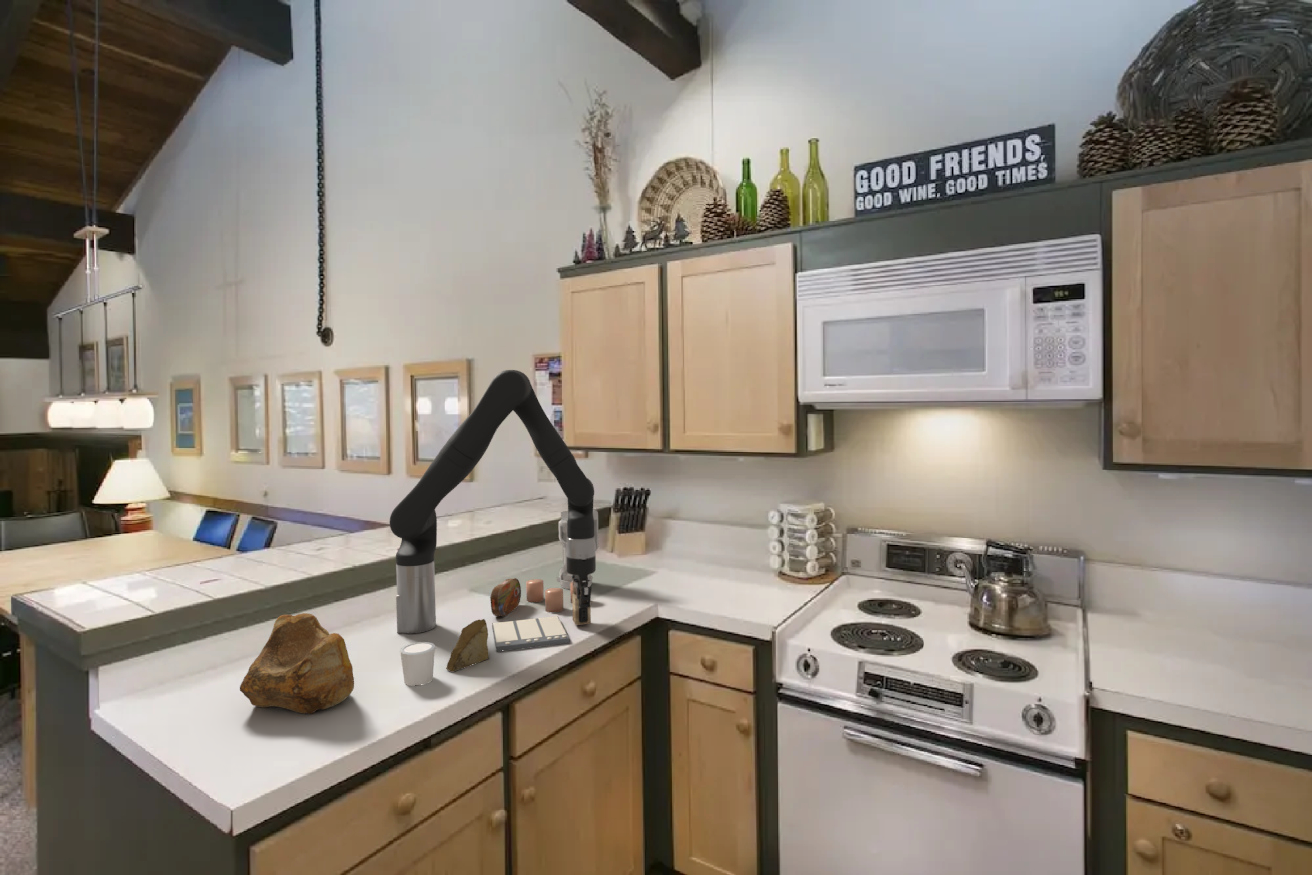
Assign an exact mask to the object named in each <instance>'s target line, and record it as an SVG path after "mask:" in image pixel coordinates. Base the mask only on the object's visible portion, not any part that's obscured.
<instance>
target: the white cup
mask: <svg viewBox="0 0 1312 875" xmlns="http://www.w3.org/2000/svg"><path fill="white" fill-rule="evenodd" d="M399 652H400V658H401V667H402V673H403V680H404V684H405V685H406V684H407V685H406V686H408V685H412V686H411V687H416V686H415V685H421V684H425V685H427V684H429V683H431V682H432V681H433V679H434V670H435V669H434V668H435V667H434V666H435V652H436V645H435V644H434V643H433V642H428V641H427V642H426V641H421V642H414V643H409V644H407V645H404V646H403V647H401V648H400V651H399ZM431 680H432V681H431ZM430 681H431V682H430ZM421 686H422V685H421Z"/></svg>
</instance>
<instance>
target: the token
mask: <svg viewBox="0 0 1312 875" xmlns="http://www.w3.org/2000/svg"><path fill="white" fill-rule="evenodd" d="M579 596H580V594H579ZM591 601H592V600H590V607H588V621H587V622H583V623H580V622H579V607H578V599H577V598H576V594H572V603H571V604H572V621H573V623H574V625H575V626H580V625H588V624H591V623H592V622H591V621H592V620H591V619H592V616H591V612H592V610H591V609H592V608H591V606H592V605H591V604H592V603H591ZM583 603H586V601H583Z"/></svg>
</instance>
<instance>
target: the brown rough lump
mask: <svg viewBox="0 0 1312 875" xmlns="http://www.w3.org/2000/svg"><path fill="white" fill-rule="evenodd" d="M351 662H352V661H351V659H350V658H349V652H348V648H347V644H346V641H345V639H344V637H342V636H341V635H340V634H339V633H336V632H333V633H330V632H329V631H328V630H327V629H325V627H323V626H322V625H321V624H320V622H319V619H318V618H317V617H316V615H313V614H312V613H306V612H304V613H298V614H295V615H292V614H282V615H279V616H278V617H277V618H276V619H275V622H274V623H273V628H272V631H271V633H270V635H269V637H268V640H267V642H266V643H265V645H264V646H263V647H262V650H261V652H260V653H259V654H258V656H257V657H256V658H255V659H254V660H253V662H252V663H251V665H250V666H249V668H248V671H247V673H246V674H245V675H244V678H243V680H242V682H241V683H240V685H239V691H240V692H241V693H243V695H244V697H246V698H247V699H248V700H249V702H250V704H251V705H252V706H253V707H254V706H255V707H260V708H267V707H280V708H283V709H287V710H290V711H293V712H295V713H296V712H297V713H299V714H305V713H308V715H312V714H314V713H315V712H316V711H318V710H327V709H329V708H331V707H334V706H336V705H338V704H341V703H342V702H343V701H345V700H346V698H348V697H349V696H350V695H351V694H352V692H353V690H354V689H355V677H354V673H353V672H354V671H353V664H352V663H351Z"/></svg>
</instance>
